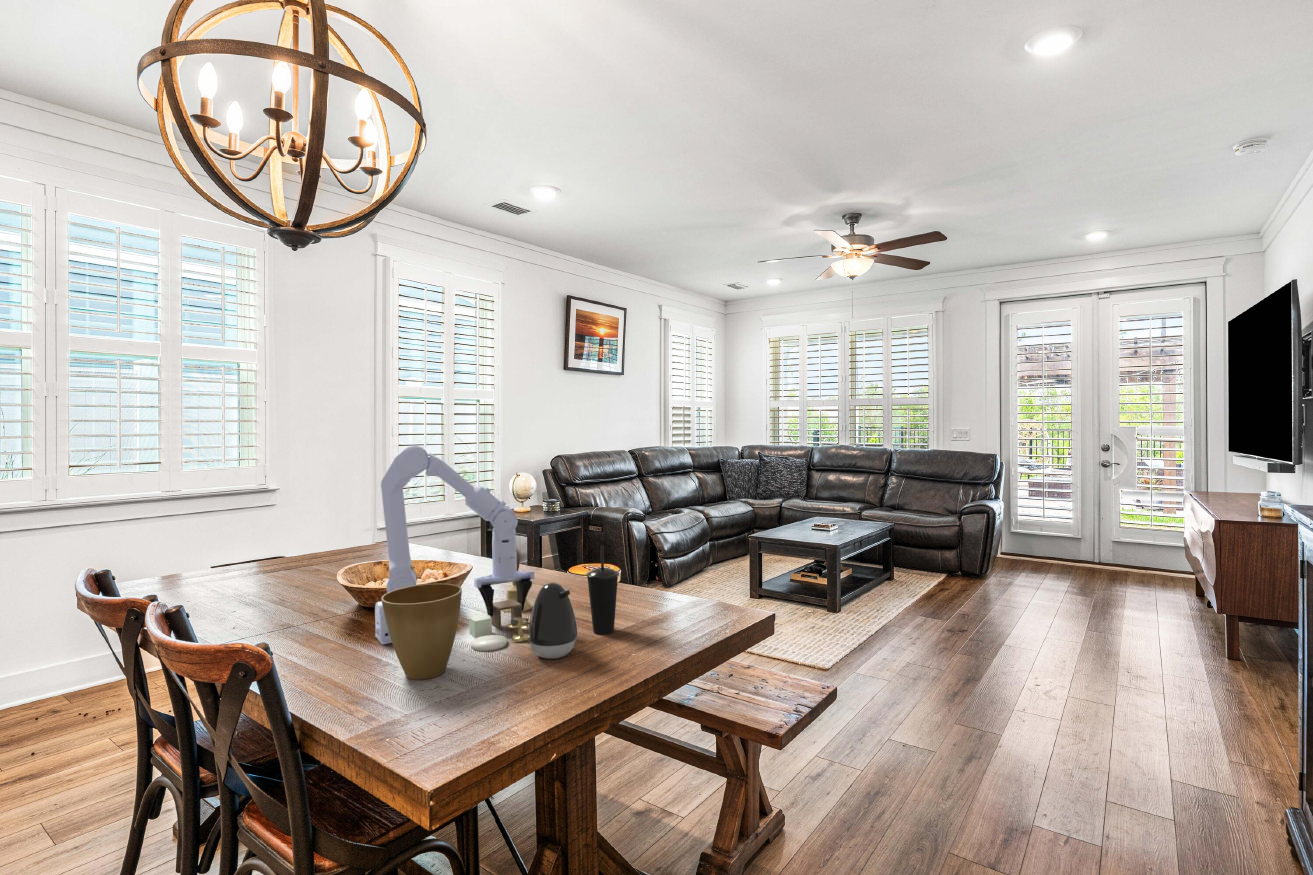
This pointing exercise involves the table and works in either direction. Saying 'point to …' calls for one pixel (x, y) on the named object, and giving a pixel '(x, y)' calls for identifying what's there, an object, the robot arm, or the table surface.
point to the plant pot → (423, 626)
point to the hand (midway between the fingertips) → (505, 612)
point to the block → (480, 625)
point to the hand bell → (513, 592)
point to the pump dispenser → (552, 623)
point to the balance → (519, 629)
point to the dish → (489, 643)
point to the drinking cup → (603, 597)
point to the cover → (503, 605)
